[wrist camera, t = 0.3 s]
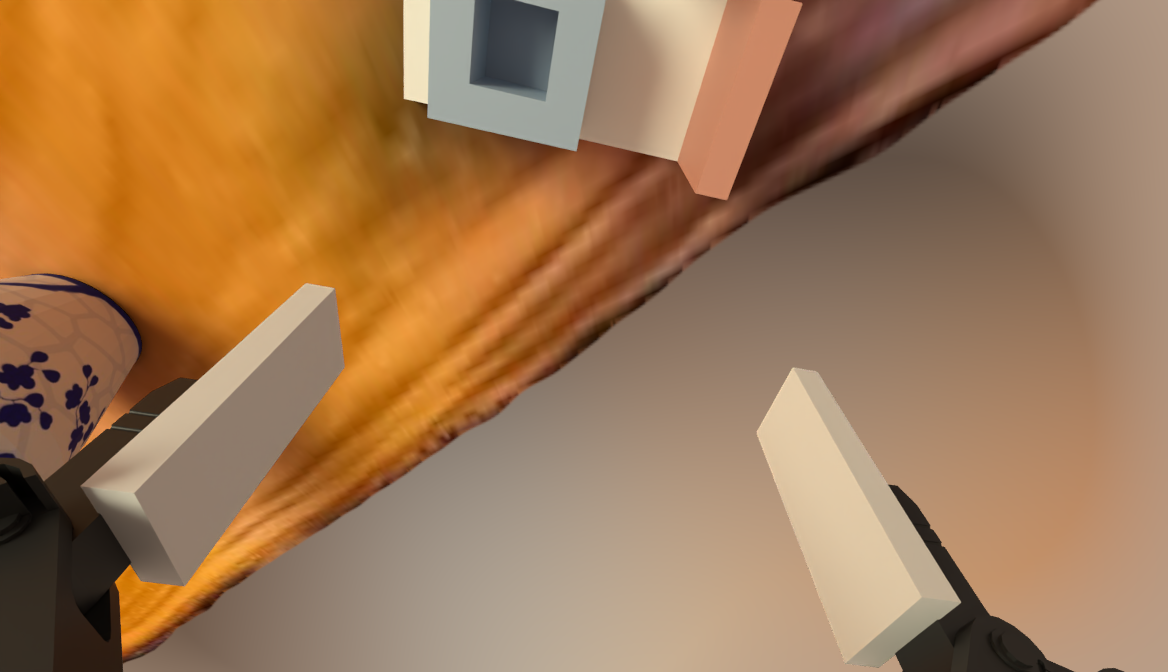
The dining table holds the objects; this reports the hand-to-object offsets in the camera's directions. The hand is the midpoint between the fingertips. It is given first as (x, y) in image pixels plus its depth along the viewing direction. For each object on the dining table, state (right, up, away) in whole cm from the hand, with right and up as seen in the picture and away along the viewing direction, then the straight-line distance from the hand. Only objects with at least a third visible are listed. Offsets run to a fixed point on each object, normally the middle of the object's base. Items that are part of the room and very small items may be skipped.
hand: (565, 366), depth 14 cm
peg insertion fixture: (0, +20, +18) cm, 27 cm away
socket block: (-3, +20, +17) cm, 26 cm away
